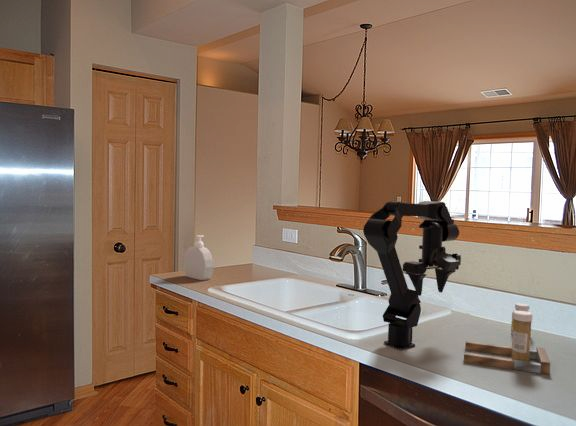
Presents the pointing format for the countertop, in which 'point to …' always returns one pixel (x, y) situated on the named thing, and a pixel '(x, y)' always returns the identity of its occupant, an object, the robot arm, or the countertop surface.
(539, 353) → the walnut slot
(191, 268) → the soap bottle
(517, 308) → the supplement bottle
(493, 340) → the countertop surface
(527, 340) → the sprinkles bottle
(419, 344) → the countertop surface
